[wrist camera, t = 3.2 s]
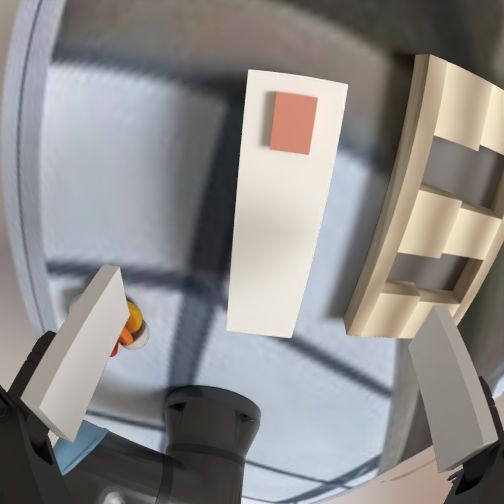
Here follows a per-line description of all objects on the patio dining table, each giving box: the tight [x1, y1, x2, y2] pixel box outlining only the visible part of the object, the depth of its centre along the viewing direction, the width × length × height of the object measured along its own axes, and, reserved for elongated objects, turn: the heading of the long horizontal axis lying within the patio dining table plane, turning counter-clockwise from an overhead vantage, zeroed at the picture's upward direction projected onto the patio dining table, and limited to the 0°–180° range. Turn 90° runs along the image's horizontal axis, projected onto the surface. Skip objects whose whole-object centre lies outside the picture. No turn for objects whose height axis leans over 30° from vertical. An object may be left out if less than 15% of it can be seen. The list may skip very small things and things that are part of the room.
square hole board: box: [344, 54, 504, 338], centre depth 23 cm, size 13×26×2 cm, turn 174°
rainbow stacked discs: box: [68, 293, 149, 357], centre depth 30 cm, size 8×10×7 cm
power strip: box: [227, 69, 348, 338], centre depth 21 cm, size 5×18×8 cm, turn 174°
